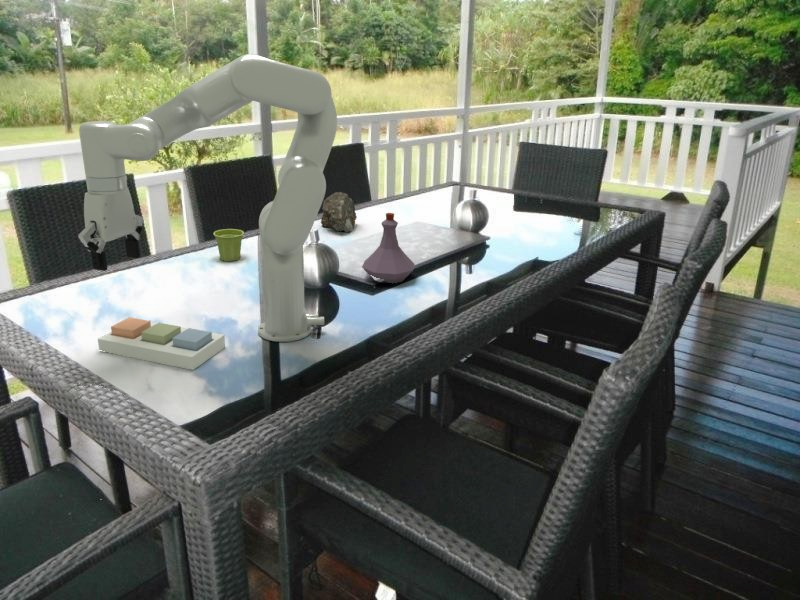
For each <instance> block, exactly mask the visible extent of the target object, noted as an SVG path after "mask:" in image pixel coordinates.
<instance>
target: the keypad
mask: <svg viewBox="0 0 800 600" xmlns="http://www.w3.org/2000/svg"><path fill="white" fill-rule="evenodd" d="M150 322H151V327H152V326H153V325H155V324H157V323H158V322H156V321H150ZM180 327H181V333H182V332H183V331H185V330H187V329H188V328H189V327H182V326H180ZM225 339H226V338H225V334H222V333H216V332H212V341H211V342H210V343H208V344H207V345H205V346H204V347H202V348H201V349H200V350H198V351H193V350H188V349H182V348H177V347H173V340H172V341H171V342H169V343H168V344H166V345H161V344H156V343H151V342H146V341H142V335H141V336H139V337H137V338H135V339H130V338H125V337H120V336H114V335H112V331H109V332H108V333H105V334H104V335H102V336H101V337H99V338H97V343H98V349H99V350H102V351H105V352H104V353H106V352H110V353H109V354H111V353H114V354H113V355H116V354H118V355H117V356H121V355H123V356H122V357H126V356H127V358H131V357H132V359H137V360H143V361H147V362H150V363H151V362H153V363H157V364H162V365H167V366H171V367H172V366H173V367H175V368H176V367H177V368H182V369H187V370H191V371H194V370H195V369H197V368H198V367H199V366H201V365H202V364H204V363H205V362H206V361H208V360H209V359H211V358H212V357H213V356H215V355H216V354H218V353H219V352H221V351H222V350H223V349H225V348H226V340H225ZM99 350H98V351H99Z"/></svg>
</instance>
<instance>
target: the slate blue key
mask: <svg viewBox="0 0 800 600" xmlns="http://www.w3.org/2000/svg"><path fill="white" fill-rule="evenodd" d="M187 328H188V329H187V330H185V331H183V332H182V333H180V334H178V335H177V336H175V337H173V338H172V339H173V347H177V348H182V349H188V350H193V351H198V350H200V349H201V348H202V347H204V346H205V345H207V344H208V343H210V342H211V341H212V333H213V332H212V331H207V330H201V329H196V328H190V327H187Z"/></svg>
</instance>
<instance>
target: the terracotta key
mask: <svg viewBox="0 0 800 600" xmlns="http://www.w3.org/2000/svg"><path fill="white" fill-rule="evenodd" d="M151 322H152V321H150V320H147V319H141V318H140V319H139V318H135V317H127V318H125V319H123V320H121V321H119V322H117V323H115V324H113V325H111V327H110V330H111V331H112V335H114V336H120V337H125V338H130V339H135V338H137V337H139V336H141V332H143V331H144V330H146V329H148V328H150V327H151ZM111 331H110V332H111Z"/></svg>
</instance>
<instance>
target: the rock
mask: <svg viewBox="0 0 800 600" xmlns="http://www.w3.org/2000/svg"><path fill="white" fill-rule="evenodd" d="M322 210H323V213H322V216H321V219H320V224H321V225H322V227H325V228H333V230H335V231H337V232H339V231H340V232H342V231H343V232H346V233H348V232H350V231H351V230H353V229H354V227H355V226H356V220H357V219H358V218H357V217H358V216H357V213H356V211H355V210H356V206H355V203H354V201H353V199H352V198H351V197H349V194H348V193H346V192H341V191H339V192H338V191H336V192H334V193H332V194H330V195H329V196H328V197H326V198H325V199H323V202H322Z"/></svg>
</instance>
